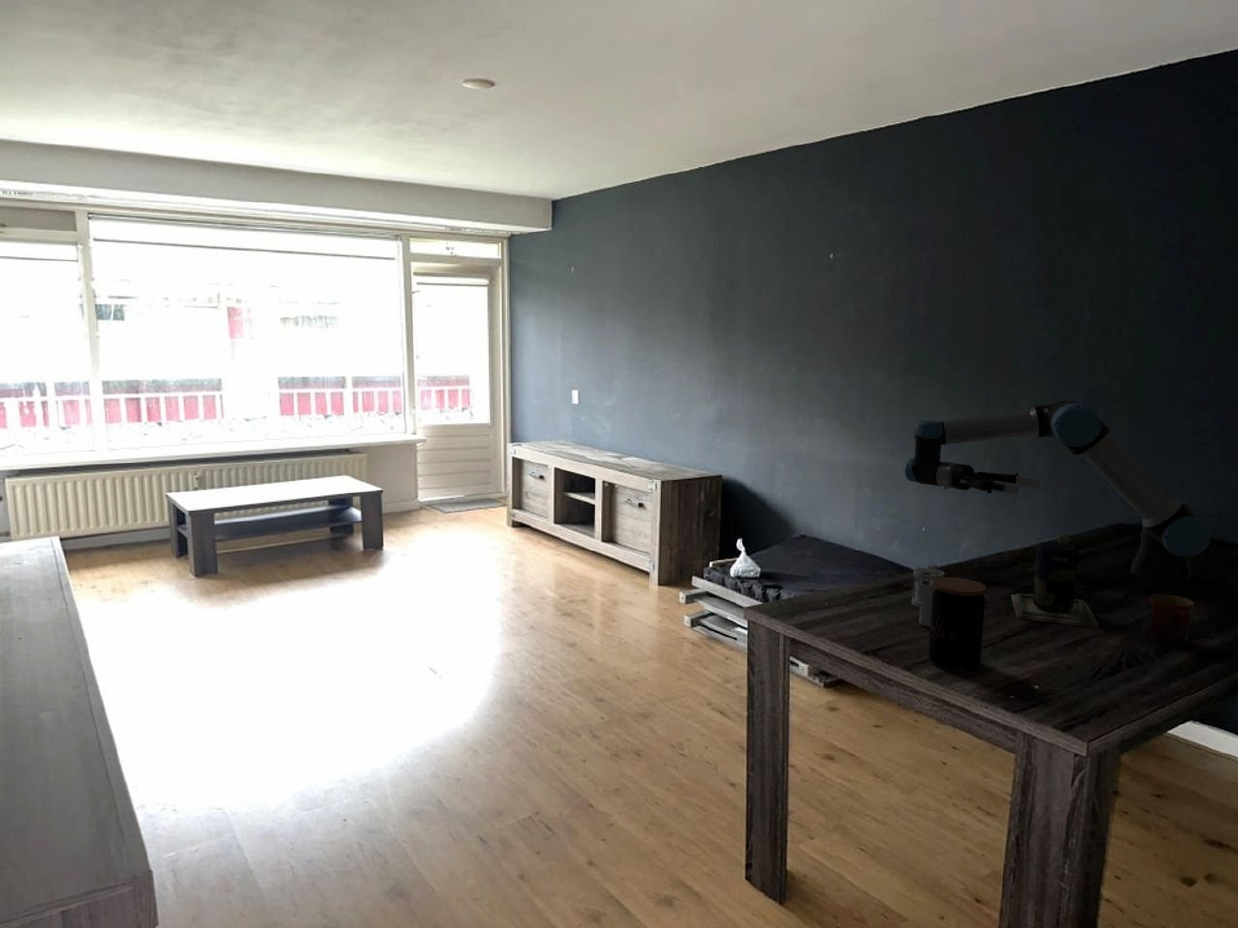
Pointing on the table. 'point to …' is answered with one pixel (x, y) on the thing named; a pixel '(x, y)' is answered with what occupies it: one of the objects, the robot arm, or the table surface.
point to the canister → (1055, 576)
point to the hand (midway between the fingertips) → (1028, 486)
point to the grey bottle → (925, 591)
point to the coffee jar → (957, 623)
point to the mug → (1170, 619)
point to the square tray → (1053, 612)
